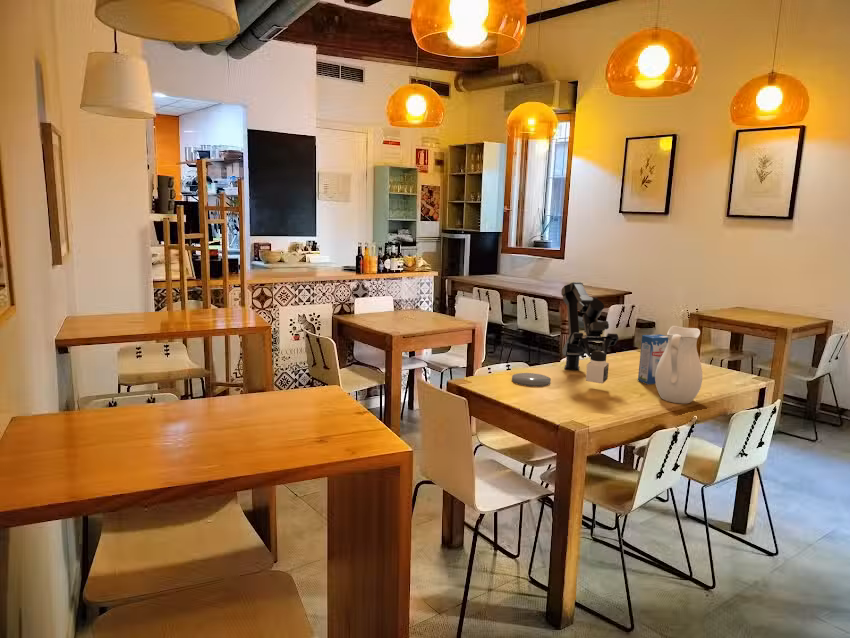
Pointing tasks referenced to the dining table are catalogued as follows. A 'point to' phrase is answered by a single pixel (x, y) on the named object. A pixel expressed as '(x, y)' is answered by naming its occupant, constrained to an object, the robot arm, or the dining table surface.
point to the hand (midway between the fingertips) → (597, 356)
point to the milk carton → (651, 356)
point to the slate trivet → (531, 379)
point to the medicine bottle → (597, 367)
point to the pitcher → (679, 366)
